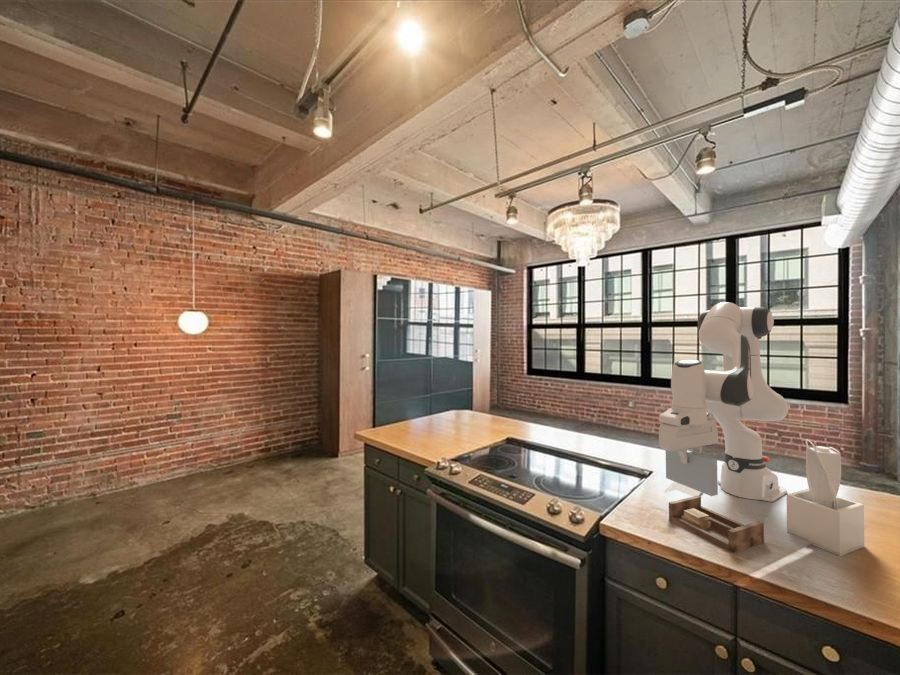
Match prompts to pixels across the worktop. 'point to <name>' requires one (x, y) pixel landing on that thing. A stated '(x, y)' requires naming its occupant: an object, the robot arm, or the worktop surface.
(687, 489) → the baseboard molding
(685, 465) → the pale blue-grey board
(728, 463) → the robot arm
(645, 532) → the worktop surface
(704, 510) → the rack
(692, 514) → the offcut short
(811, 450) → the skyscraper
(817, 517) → the open white box
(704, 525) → the offcut mid
